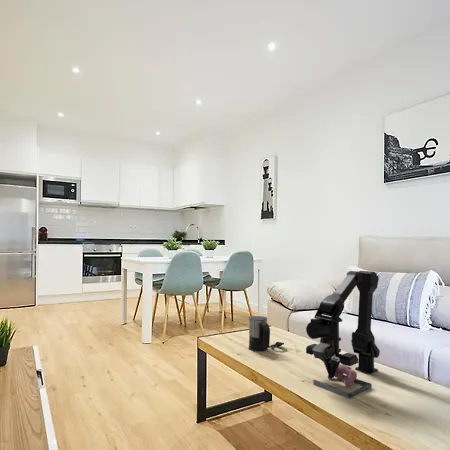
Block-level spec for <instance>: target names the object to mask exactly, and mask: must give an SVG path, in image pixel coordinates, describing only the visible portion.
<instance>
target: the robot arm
mask: <svg viewBox="0 0 450 450" xmlns="http://www.w3.org/2000/svg"><path fill="white" fill-rule="evenodd" d="M379 278H380V277H379V276H378V274H377V273H376V272H375V271H370V270H369V271H366V270H359V271H357V270H350V271H348V272H347V273H346V276H345V277H344V279H343V280H342V281H340V282H341V283H339V285H338V287H337V288H336V289H335V290H334V292H333V293H331V294H329V295H328V296H326V297H324V299H322V300H321V301H320V304H319V306H318V308H317V310H316V312H315V314H314V318H310V322H308V323H307V325H306V328H305V331H306V334H307V336H308V337H309V339H312V340H316V339H319V338H320V339H319V343H313V344H312V343H311V344H309V345H307V346H306V348H305V354H308V355H310V356H313V357H314V359H318V360H320V361H322V363H324V367H325V369H326V372H327V376H328V375H329V378H331V379H330V380H332V379H334V378H333V376H334V374H335V372H336V370H337V368H338V366H339V364H340V365H346V366H348V367H352V366H355V365H357V364H358V365H357V366H356V367H355V368H354V369H355V371H359V372H362V373H366V374H370V375H371V374H372V373H375V372H377V371H379V369H378V368H375V359H377V358H378V357H380V355H381V354H380V353H381V350H380V349H379V348H378V345H376V341H375V340H376V338H375V335H374V333H373V331H372V314H373V313H372V311H373V294H374V292H375V291H376V290H377V289H378V284H379V280H380V279H379ZM355 288H357V290H358V292H359V294H358V295H359V296H358V299H359V300H358V314H357V328H356V329H355V331H352V333H351V341H350V343H351V347H352V351H353V353H351V352H346V353H342V349H341V348H340V341H342V337H340V323H342V322H343V318H341V317H340V316H341V315H342V313H343V311H344V309H345V302H346V301H347V300H348V297H350V295H351V293H352V292H353V290H354V289H355ZM357 354H358V356H357ZM378 359H379V358H378Z"/></svg>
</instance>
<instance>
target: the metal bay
mask: <svg viewBox="0 0 450 450" xmlns="http://www.w3.org/2000/svg"><path fill="white" fill-rule="evenodd" d="M343 375H344V377H345V376H346V374H344V373H343ZM335 377H336V378H337V375H336V376H335ZM335 377H334V378H335ZM312 380H313V381H312V384H313V385H314V386H316V387H320V388H322V389H325V390H327V391H330V392H332V393H335V394H337V395H340V396H343V397H345V398H347V399H352V398H355V397H357V396H358V395H361V394H363V393H365V392H367V391H369V390H370V389H372V387H373V386H372V385H373V384H372V383H370V382H367V381H365V380H362V379H358V378H356V379H355V380H354V382H353V384H356V385H359V386H360V387H358V388H356V389H354V390H352V391H350V392H349V391H347V390H344V389H341V388H339V387H336V386H333V385H331V384H327V383H325V382H322V381H319V380H318V379H312Z"/></svg>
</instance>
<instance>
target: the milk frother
mask: <svg viewBox="0 0 450 450" xmlns="http://www.w3.org/2000/svg"><path fill="white" fill-rule="evenodd" d="M248 334H249V336H248V338H249V342H248V349H249V350H250V351H254V352H264V351H267V350H268V349H270V348H273V347H276V348H280V347H281V346H283V345H285V342H281V341H276V342H274V344H271V345H270V342H271V341H270V339H271V328H270V326H269V323H268V317H267V316H263V315H253V316H249V317H248Z"/></svg>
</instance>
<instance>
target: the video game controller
mask: <svg viewBox="0 0 450 450" xmlns="http://www.w3.org/2000/svg"><path fill="white" fill-rule="evenodd" d="M343 374H344V375H346V376H345V377H344V375H343ZM336 375H337V377H336V378H337V380H339V381H343V382H344V383H345V384H344V385H345V387H346V388H349V387H351V386H352V385H353V384H354V383H353V382H354V380H355V379H358V378H357V377H358V373H357V371H356V370H354V369H353V368H352V367H351V366H346V365H343V364H341V363H340V364H339V366H338V368H337V370H336V372H335V374H334V376H333V378H332V379H334V378H335V376H336ZM327 379H328V380H332V379H331V378H329V375H328V374H327Z"/></svg>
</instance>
